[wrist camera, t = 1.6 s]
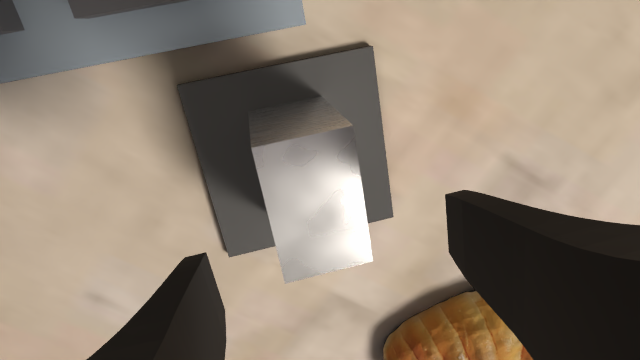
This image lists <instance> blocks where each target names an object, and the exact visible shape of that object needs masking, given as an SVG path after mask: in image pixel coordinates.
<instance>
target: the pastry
mask: <svg viewBox="0 0 640 360" xmlns="http://www.w3.org/2000/svg"><path fill="white" fill-rule="evenodd" d="M383 358H384V360H533V359H532V357H531V356H530V354H529V353H528V352H527V350H526V349H525V347H524V346H523V345H522V343H521V342H520V341H519V340H518V338H517V337H516V336H515V335H514V333H513V332H512V331H511V330H510V329H509V328H508V327H507V325H506V324H505V323H504V322H503V321H502V320H501V319H500V317H499V316H498V315H497V314H496V313H495V312H494V311H493V309H492V308H491V307H490V306H489V305H488V304H487V303H486V301H485V300H484V299H483V298H482V297H481V296H480V295H479V293H478V292H477V291H475V292H464V293H462V294H460V295H457V296H455V297H451V298H449V299H448V300H447V301H444V302H441V303H438V304H436V305H434V306H433V307H431V308H429V309H427V310H425V311H422V312H420V313H418V314H416V315H415V316H413V317H411V318H409V319H408V320H406V321H405V322H403V323H402V324H401V325H400V327H399V328H398V329H396V330H395V331H394V332H393V333H391V334H390V335H389V336H388V338H387V340H386V342H385V344H384V348H383Z"/></svg>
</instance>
